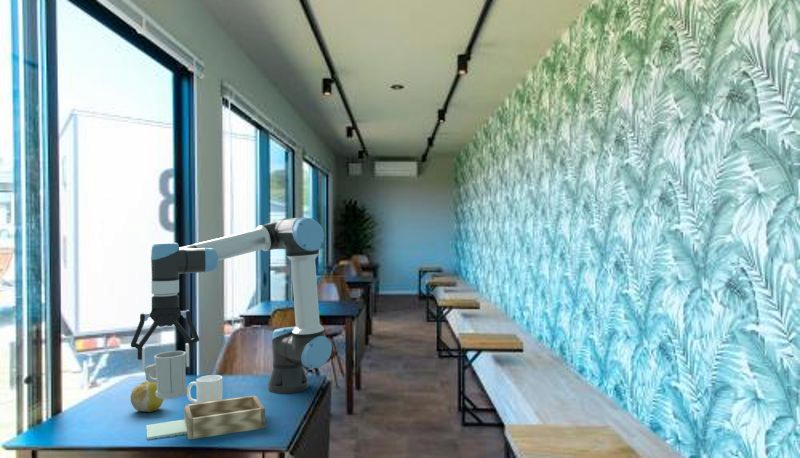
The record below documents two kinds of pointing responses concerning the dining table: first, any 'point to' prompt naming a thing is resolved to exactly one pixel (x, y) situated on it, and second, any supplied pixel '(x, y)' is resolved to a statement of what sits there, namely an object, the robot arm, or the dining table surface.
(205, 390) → the cup
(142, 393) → the fruit
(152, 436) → the mat
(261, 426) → the caddy
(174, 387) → the cup
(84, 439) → the dining table surface
